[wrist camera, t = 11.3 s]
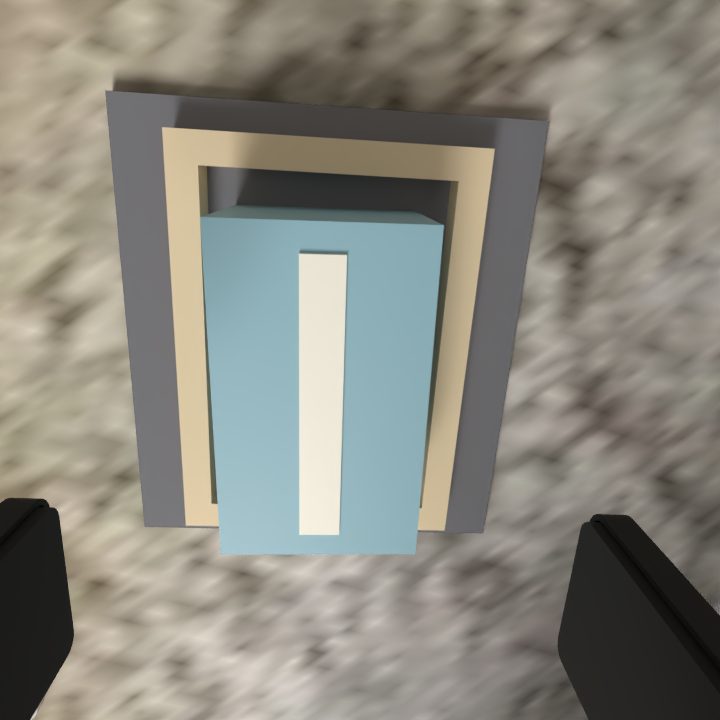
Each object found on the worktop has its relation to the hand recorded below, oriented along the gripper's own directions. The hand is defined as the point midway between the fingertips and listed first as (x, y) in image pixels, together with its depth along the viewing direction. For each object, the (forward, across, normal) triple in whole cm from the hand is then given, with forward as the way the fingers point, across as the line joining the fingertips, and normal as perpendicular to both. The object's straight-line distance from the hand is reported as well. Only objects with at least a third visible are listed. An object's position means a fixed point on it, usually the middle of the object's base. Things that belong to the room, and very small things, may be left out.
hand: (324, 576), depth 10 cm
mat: (+11, 0, -1) cm, 11 cm away
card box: (+11, 0, -1) cm, 11 cm away
